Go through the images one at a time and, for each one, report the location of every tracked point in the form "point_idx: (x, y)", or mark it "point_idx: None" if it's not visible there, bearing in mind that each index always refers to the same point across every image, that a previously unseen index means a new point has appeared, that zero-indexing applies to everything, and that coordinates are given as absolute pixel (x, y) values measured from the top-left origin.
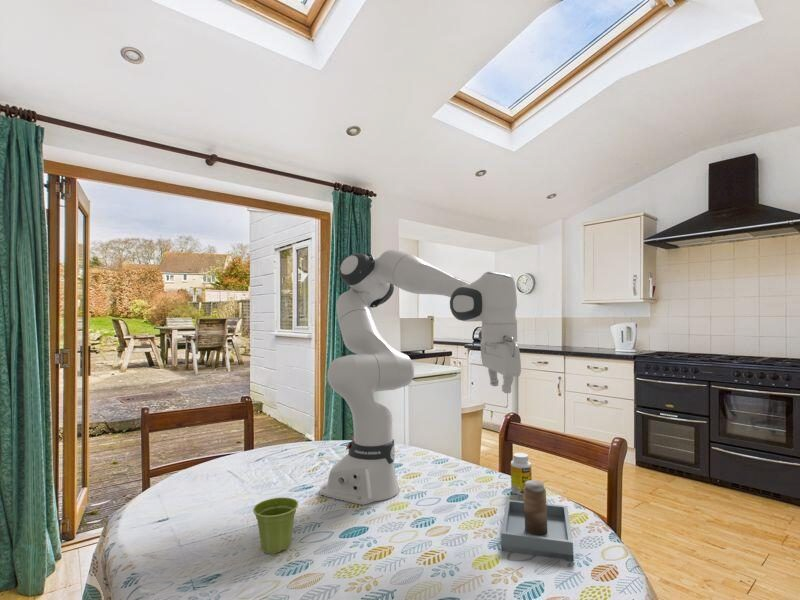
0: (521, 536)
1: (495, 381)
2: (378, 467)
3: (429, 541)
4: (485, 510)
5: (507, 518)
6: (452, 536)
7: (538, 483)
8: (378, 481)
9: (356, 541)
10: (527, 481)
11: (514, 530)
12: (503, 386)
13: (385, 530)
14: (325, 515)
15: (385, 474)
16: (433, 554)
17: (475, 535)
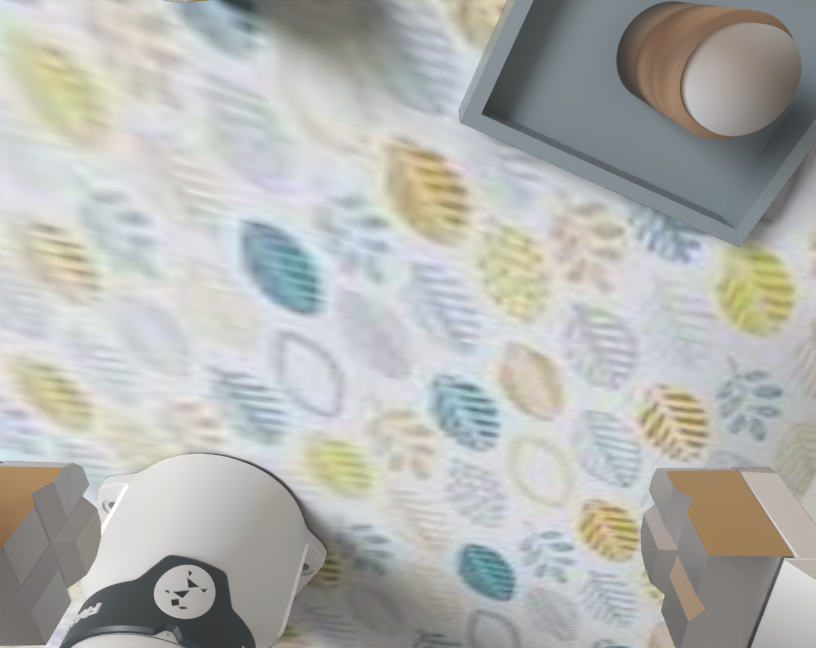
0: (786, 179)
1: (39, 557)
2: (259, 603)
3: (590, 416)
4: (411, 191)
5: (626, 179)
6: (580, 351)
7: (754, 55)
8: (278, 563)
9: (539, 570)
10: (698, 109)
11: (638, 147)
12: (759, 646)
13: (496, 510)
14: (381, 625)
15: (255, 558)
16: (663, 418)
17: (594, 281)
